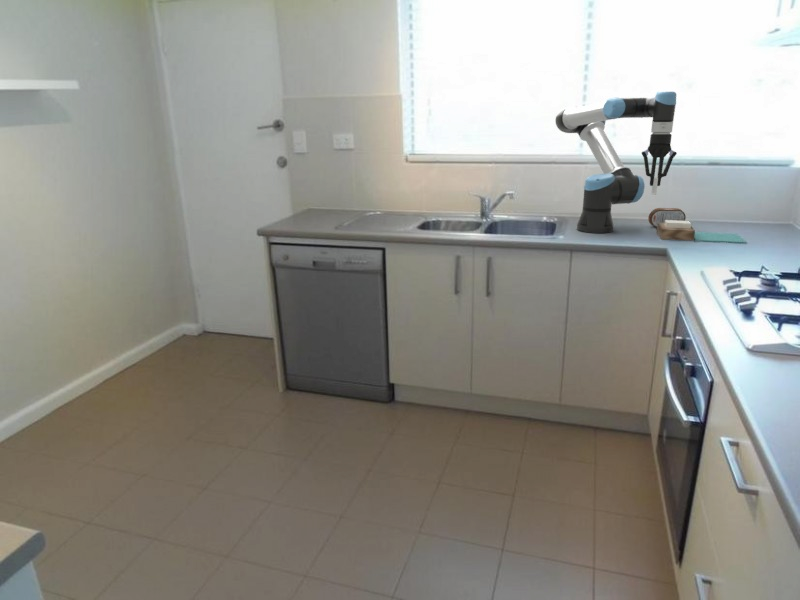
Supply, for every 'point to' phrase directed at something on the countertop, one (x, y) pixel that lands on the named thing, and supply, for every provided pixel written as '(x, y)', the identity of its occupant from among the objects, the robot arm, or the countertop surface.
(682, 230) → the brown wooden block
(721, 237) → the mat
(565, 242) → the countertop surface
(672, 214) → the tin
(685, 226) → the white rectangular block
